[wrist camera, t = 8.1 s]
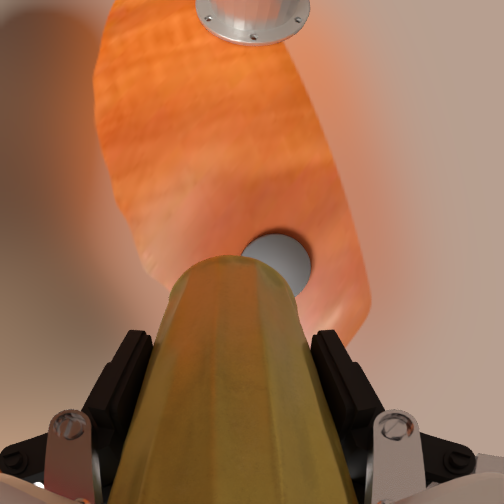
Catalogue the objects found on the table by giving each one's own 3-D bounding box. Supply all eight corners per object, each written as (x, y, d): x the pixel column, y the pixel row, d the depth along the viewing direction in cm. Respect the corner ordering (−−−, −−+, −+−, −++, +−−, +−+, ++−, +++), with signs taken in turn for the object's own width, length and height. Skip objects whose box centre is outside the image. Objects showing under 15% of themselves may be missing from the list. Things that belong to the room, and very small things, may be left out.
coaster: (236, 234, 30) (236, 236, 29) (310, 232, 31) (312, 234, 30) (239, 301, 33) (239, 305, 32) (306, 299, 33) (308, 302, 32)
